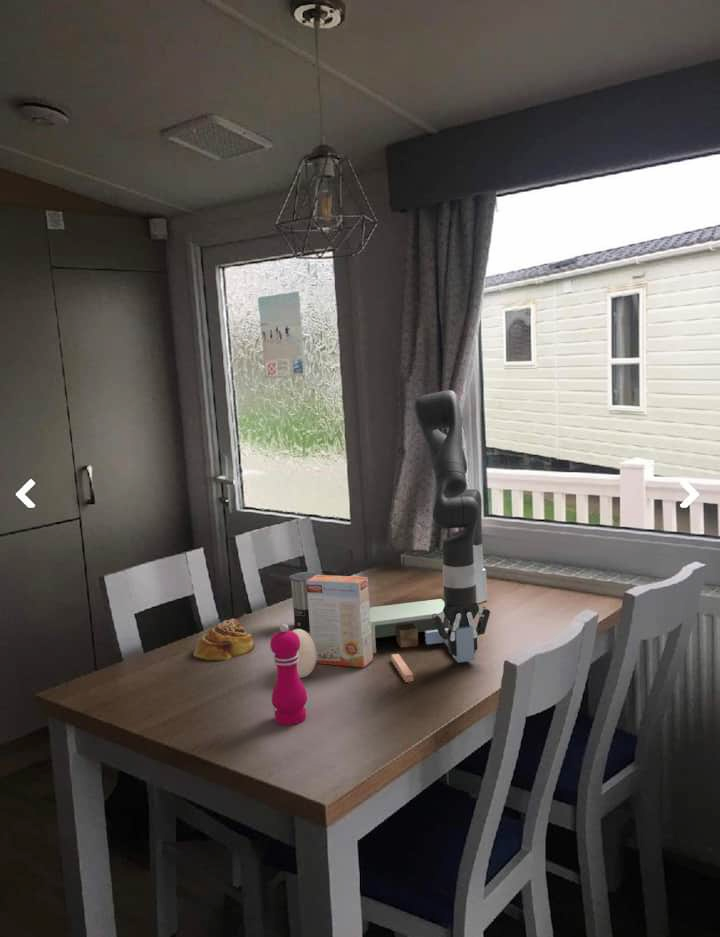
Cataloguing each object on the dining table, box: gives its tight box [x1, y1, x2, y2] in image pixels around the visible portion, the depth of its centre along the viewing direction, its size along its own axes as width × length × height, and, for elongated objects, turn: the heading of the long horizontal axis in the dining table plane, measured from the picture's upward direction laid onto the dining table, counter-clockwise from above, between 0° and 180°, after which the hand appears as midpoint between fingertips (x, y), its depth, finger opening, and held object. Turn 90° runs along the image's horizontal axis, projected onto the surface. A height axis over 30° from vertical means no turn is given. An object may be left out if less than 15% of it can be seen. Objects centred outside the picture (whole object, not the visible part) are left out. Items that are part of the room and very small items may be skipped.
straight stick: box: [390, 653, 414, 683], centre depth 185 cm, size 2×14×2 cm, turn 11°
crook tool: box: [424, 625, 476, 663], centre depth 192 cm, size 16×7×8 cm, turn 12°
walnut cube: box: [395, 623, 419, 649], centre depth 203 cm, size 4×4×4 cm
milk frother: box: [289, 571, 324, 633], centre depth 223 cm, size 14×16×15 cm
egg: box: [291, 629, 317, 679], centre depth 185 cm, size 8×8×11 cm
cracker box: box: [306, 574, 374, 668], centre depth 193 cm, size 14×6×21 cm, turn 65°
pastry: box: [193, 618, 256, 661], centre depth 207 cm, size 13×15×8 cm
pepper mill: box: [270, 623, 308, 726], centre depth 162 cm, size 7×7×20 cm
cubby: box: [370, 598, 449, 654], centre depth 206 cm, size 22×12×8 cm, turn 102°
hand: (463, 653), depth 187 cm, fingers closed on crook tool, 4 cm apart
